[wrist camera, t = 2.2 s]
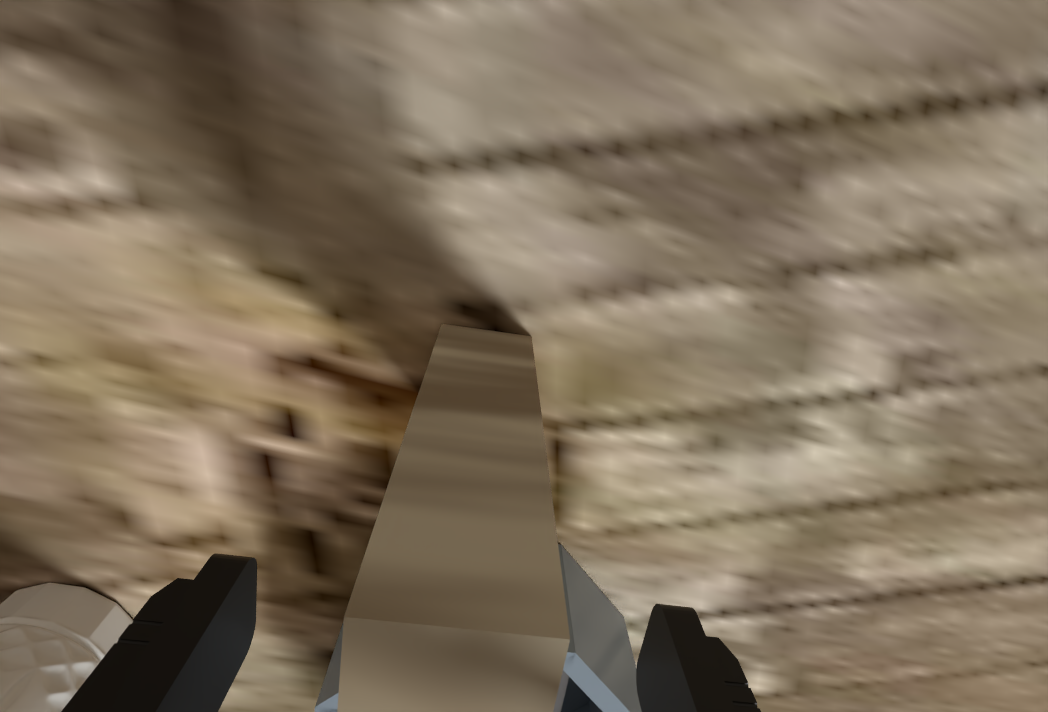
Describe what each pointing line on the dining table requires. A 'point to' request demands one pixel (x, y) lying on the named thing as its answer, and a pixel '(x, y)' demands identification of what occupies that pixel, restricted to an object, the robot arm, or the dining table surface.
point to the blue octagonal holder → (592, 658)
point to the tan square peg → (462, 548)
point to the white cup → (53, 644)
